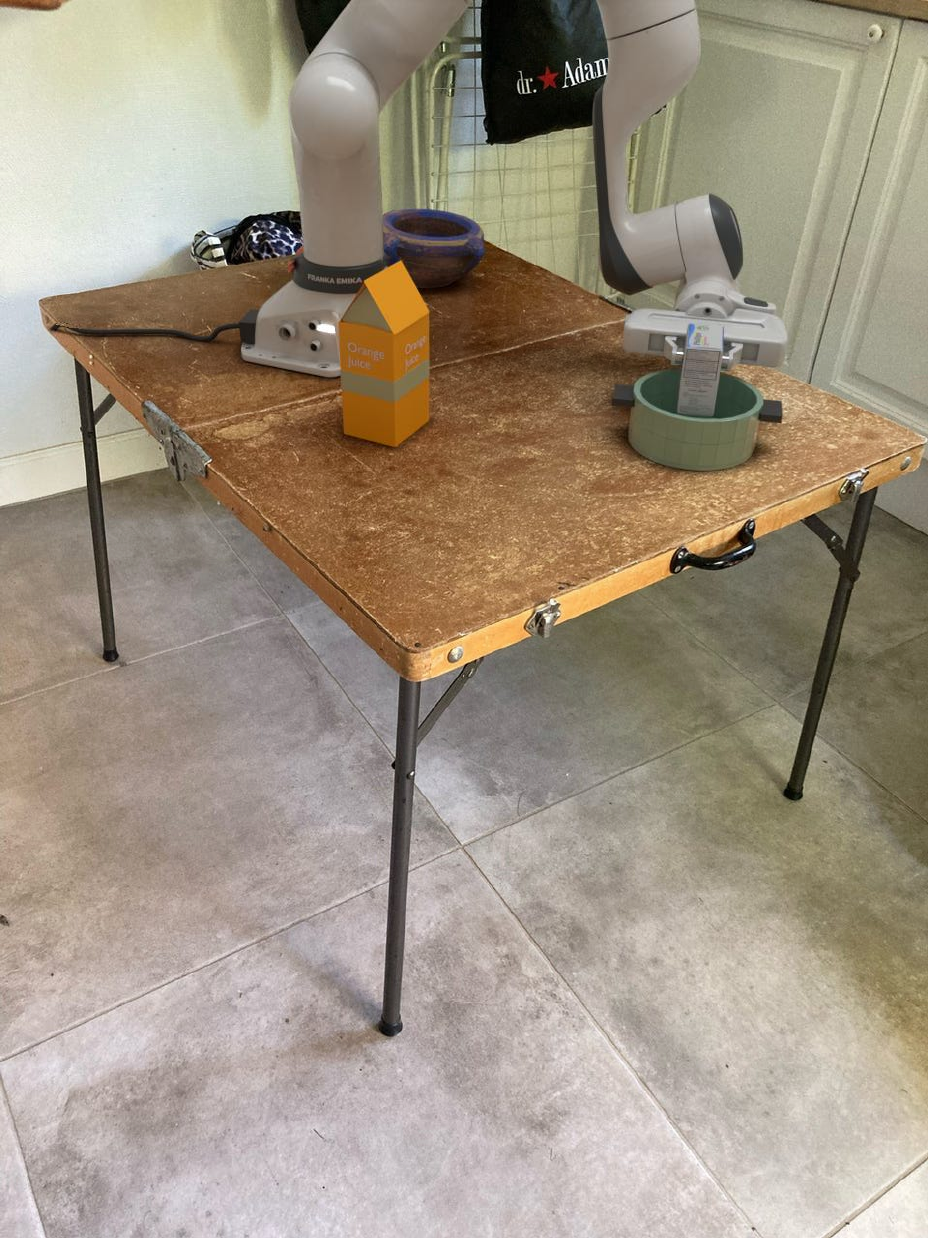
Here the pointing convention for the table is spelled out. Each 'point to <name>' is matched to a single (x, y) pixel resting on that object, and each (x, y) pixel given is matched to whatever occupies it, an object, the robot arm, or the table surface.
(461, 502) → the table surface
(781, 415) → the pot handles
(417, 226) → the bowl
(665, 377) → the pot
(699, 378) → the medicine box
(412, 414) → the orange juice
